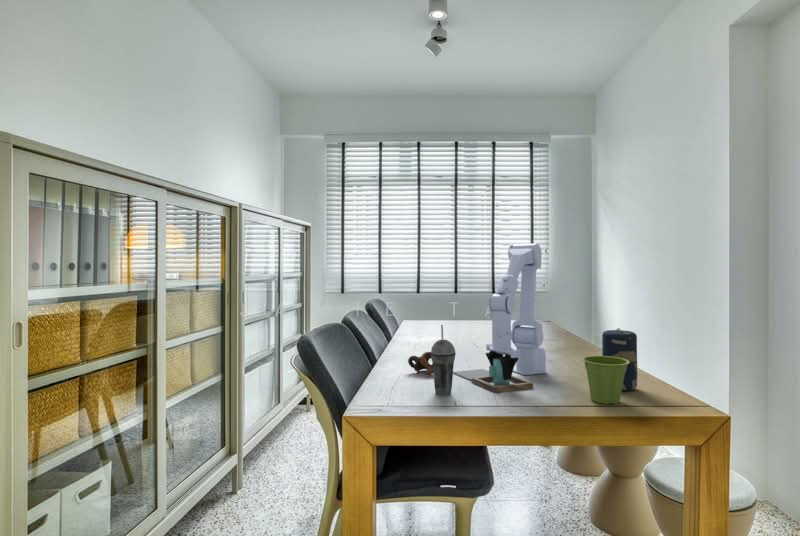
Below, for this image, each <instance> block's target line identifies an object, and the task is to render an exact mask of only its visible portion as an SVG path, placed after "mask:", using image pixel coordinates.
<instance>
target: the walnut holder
mask: <svg viewBox="0 0 800 536" xmlns="http://www.w3.org/2000/svg"><path fill="white" fill-rule="evenodd" d="M490 382H493V377H489V376H484V377H474V378H472V381H471V383H472V384H475V385H477V386H478V387H481V388H484V389H486V390H488V391H491V392H493V393H502V392H503V393H504V392H510V391H511V392H512V391H519V390H528V389H534V382H531V381H529V380H526V379H522V378H521V377H517V376H514V375H512V376H511V379H510V385H501V386H495V385H493V383H490ZM511 382H512V384H511Z"/></svg>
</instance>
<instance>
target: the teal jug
mask: <svg viewBox="0 0 800 536" xmlns="http://www.w3.org/2000/svg"><path fill="white" fill-rule="evenodd" d="M488 371H489V377H493V381H492V382H493V383H492V385H495V386H501V385H510V384H511V381H510V380H504V378H503V369H502V364H501V361H500V359H499V358H494V359H493V366H491V365H489V366H488Z"/></svg>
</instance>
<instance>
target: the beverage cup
mask: <svg viewBox="0 0 800 536" xmlns="http://www.w3.org/2000/svg"><path fill="white" fill-rule="evenodd" d="M440 327H441V328H440V329H441V330H440V332H441V333H440V334H441V335H440V336H441V339H438V340H436V341H435V342H434V344H433V345H432V347H431V351H430V352H431V361H432V364H433V373H432V374H433V383H434V384H433V385H434V392H435V395H437V396H440V397H441V396H442V397H444V396H445V397H447V396H451V395H452V389H453V376H454V374H453V372H454V366H455V361H456V360H455V359H456V355H457V353H456V348H455V346H454V345H453V343H452V342H450V341H449V340H448V339H444V325H443V324H441V325H440Z"/></svg>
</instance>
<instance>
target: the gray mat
mask: <svg viewBox="0 0 800 536" xmlns="http://www.w3.org/2000/svg"><path fill="white" fill-rule="evenodd" d="M453 375H456V376H458V377H461V378H462V379H465V380H467V381H469V382H470V381H471V382H472V378H474V377H484V376H489V370H487V369H484V368H481V369H469V370H461V371H460V370H458V371H453Z"/></svg>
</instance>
